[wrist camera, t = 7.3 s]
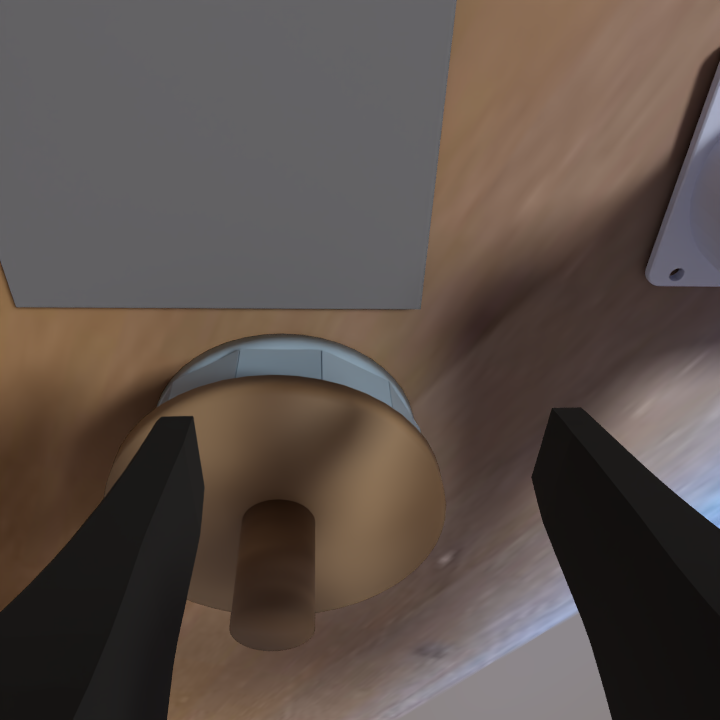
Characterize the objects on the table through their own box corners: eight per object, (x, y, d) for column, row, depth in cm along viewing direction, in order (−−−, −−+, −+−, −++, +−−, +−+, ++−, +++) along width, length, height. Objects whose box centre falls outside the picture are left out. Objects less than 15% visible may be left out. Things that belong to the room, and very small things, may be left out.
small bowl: (427, 333, 24) (444, 403, 21) (403, 519, 31) (413, 593, 27) (132, 333, 23) (103, 405, 20) (173, 523, 30) (156, 600, 27)
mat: (477, -216, 15) (481, -219, 14) (418, 300, 23) (420, 309, 23) (-161, -256, 14) (-178, -261, 13) (22, 297, 22) (16, 306, 22)
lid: (437, 354, 20) (467, 475, 16) (444, 577, 27) (466, 698, 23) (56, 397, 20) (-9, 527, 16) (166, 607, 27) (140, 732, 23)
